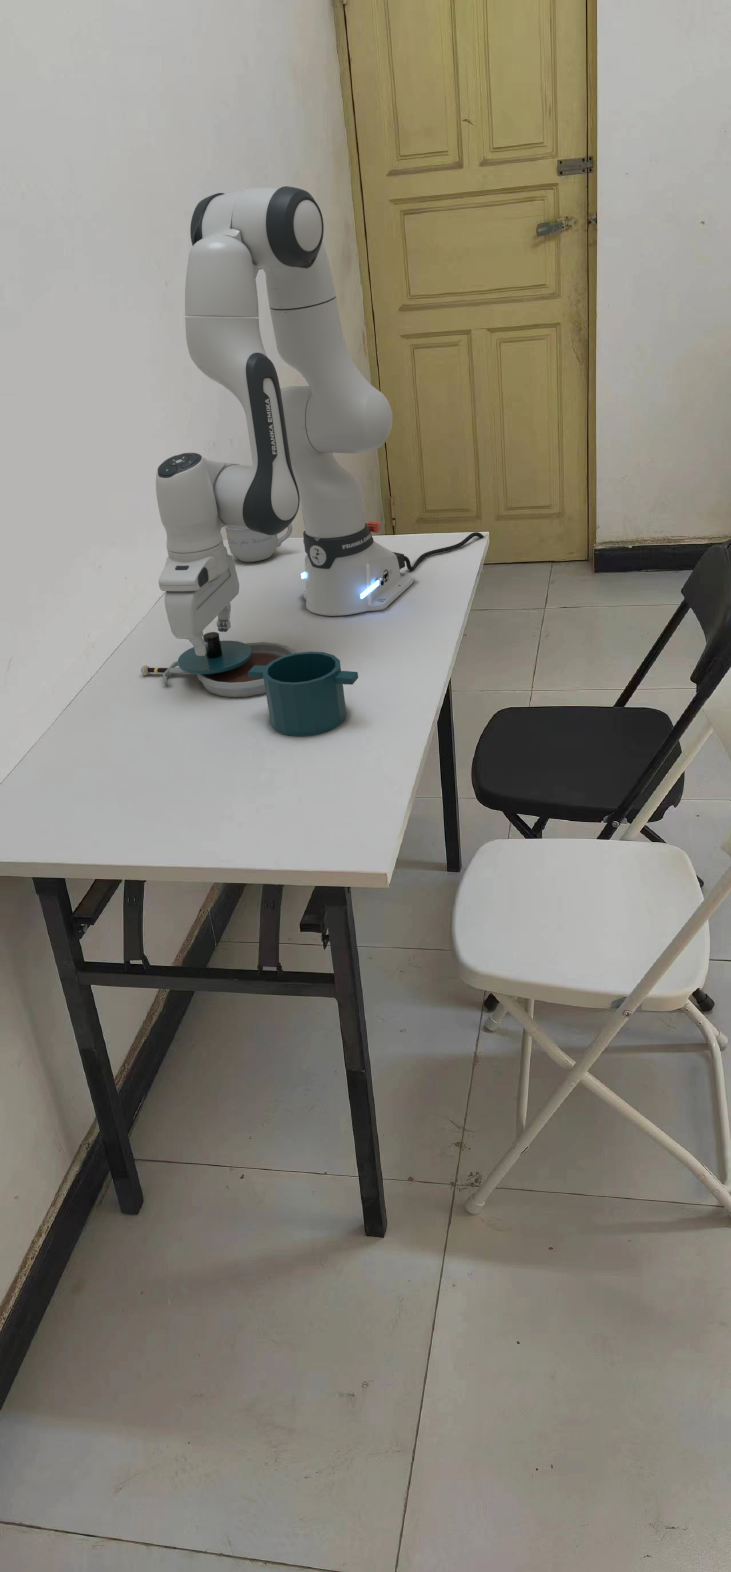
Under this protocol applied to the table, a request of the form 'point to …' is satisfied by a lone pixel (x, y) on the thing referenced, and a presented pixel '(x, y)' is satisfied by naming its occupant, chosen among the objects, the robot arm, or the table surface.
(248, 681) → the frying pan
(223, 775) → the table surface
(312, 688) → the pot
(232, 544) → the teacup
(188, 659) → the lid
